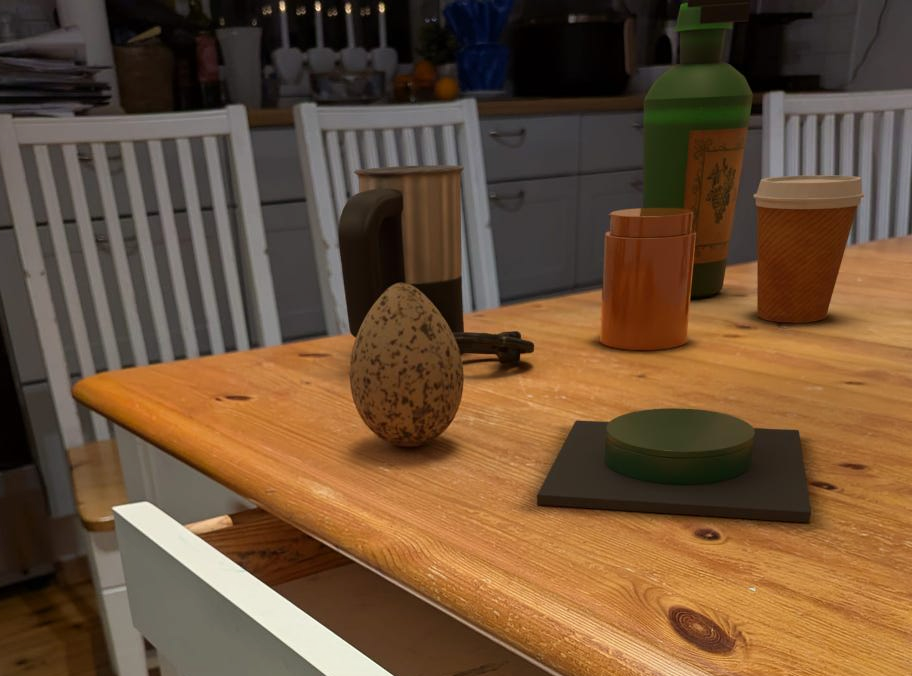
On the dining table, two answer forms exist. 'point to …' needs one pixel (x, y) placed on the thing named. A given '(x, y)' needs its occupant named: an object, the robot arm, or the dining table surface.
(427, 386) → the decorative egg
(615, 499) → the mat
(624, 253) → the jam jar
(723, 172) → the bottle
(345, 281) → the milk frother
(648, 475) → the jar lid
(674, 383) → the dining table surface
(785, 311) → the disposable coffee cup
